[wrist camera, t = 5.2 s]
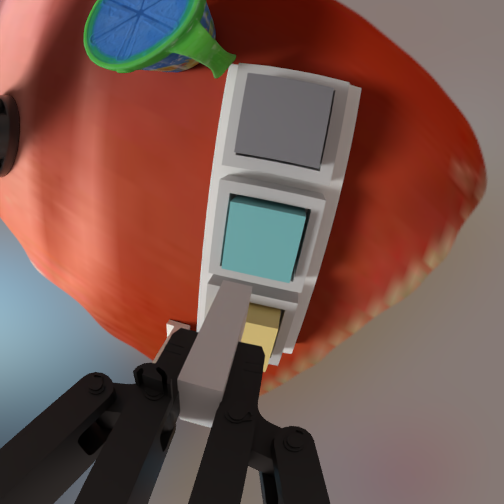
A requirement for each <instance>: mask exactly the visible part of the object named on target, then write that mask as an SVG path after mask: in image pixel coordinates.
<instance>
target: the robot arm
mask: <svg viewBox="0 0 504 504" xmlns="http://www.w3.org/2000/svg"><path fill="white" fill-rule="evenodd" d="M18 141H19V113H18V108H17V104H16V102H15V100H14V98H13V97H12V96H10V95H0V177H3V176H5V175H6V174H7V173H8V172H9V171H10V169H11V167H12V165H13V163H14V160H15V157H16V153H17V148H18ZM252 287H253V286H248V285H244V284H239V283H234V282H230V281H225V280H223V282H222V284H221V286H220V288H219V290H218V292H217V294H216V297H215V299H214V301H213V303H212V305H211V307H210V309H209V311H208V314H207V316H206V318H205V320H204V322H203V324H202V326H201V329H200V331H199V332H195V331H192V330H188V329H184V328H180V329H178V330H177V331H176V332H174V333H173V334H172V335H171V337H170V339H169V341H168V343H167V344H166V346H165V348H164V350H163V351H162V353H161V355H160V356H159V358H158V360H157V362H156V363H144V364H142V365H140V366H138V367H137V368H136V369H135V370H134V371H133V373H134V378H135V382H136V384H120V383H112V380H111V379H110V378H109V377H108V376H107V375H105V374H103V373H97V372H94V373H89V374H88V375H86V376H84V377H83V378H82V379H80V380H79V381H78V382H77V383H76V384H75V385H73V386H72V387H71V388H70V389H69V390H68V391H66V392H65V393H64V394H63V395H62V396H61V397H59V398H58V399H57V400H56V401H55V402H54V403H52V404H51V405H50V406H49V407H48V408H47V409H45V410H44V411H43V412H42V413H41V414H40V415H39V416H37V417H36V418H35V419H34V420H33V421H32V422H31V423H29V424H28V425H27V426H26V427H25V428H24V429H22V430H21V431H20V432H19V433H18V434H17V435H16V436H14V437H13V438H12V439H11V440H10V441H9V442H8V443H6V444H5V445H4V446H3V447H2V448H1V449H0V504H53V503H54V502H55V501H56V500H57V499H58V498H59V497H60V496H61V495H62V494H63V493H64V492H65V491H66V490H67V489H68V488H69V487H70V486H71V485H72V484H73V483H74V482H75V481H76V480H77V479H78V478H79V477H80V476H81V475H82V474H83V473H84V472H85V471H86V470H87V469H88V468H89V467H90V466H91V464H92V463H93V462H94V461H95V460H96V461H95V463H94V466H93V467H92V469H91V471H90V473H89V475H88V477H87V479H86V481H85V483H84V485H83V487H82V489H81V491H80V493H79V495H78V497H77V499H76V501H75V503H74V504H148V502H149V499H150V496H151V494H152V491H153V488H154V486H155V483H156V480H157V478H158V475H159V472H160V470H161V467H162V464H163V462H164V459H165V457H166V454H167V452H168V449H169V446H170V444H171V441H172V438H173V436H174V433H175V430H176V421H177V418H178V416H180V419H182V420H185V421H188V422H192V423H195V424H199V425H203V426H207V427H211V431H210V435H209V437H208V441H207V444H206V447H205V451H204V454H203V457H202V460H201V464H200V467H199V470H198V474H197V477H196V480H195V483H194V487H193V490H192V493H191V496H190V499H189V503H188V504H240V502H241V498H242V493H243V487H244V483H245V478H246V473H247V468H248V466H250V467H252V468H254V469H256V470H258V471H259V476H260V483H261V490H262V498H263V504H330V501H329V497H328V493H327V489H326V485H325V481H324V478H323V474H322V470H321V466H320V462H319V458H318V455H317V450H316V447H315V443H314V440H313V438H312V436H311V434H310V433H308V432H307V431H306V430H305V429H303V428H300V427H296V426H289V427H285V428H280V427H278V426H276V425H274V424H272V423H270V422H268V421H266V420H265V419H264V418H263V417H262V416H261V414H260V413H259V410H258V398H259V392H260V386H261V380H262V373H263V367H264V361H265V354H264V351H263V348H262V346H258V345H253V344H248V343H244V342H241V339H242V336H243V332H244V328H245V323H246V318H247V313H248V308H249V303H250V298H251V292H252Z"/></svg>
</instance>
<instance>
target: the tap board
mask: <svg viewBox="0 0 504 504" xmlns="http://www.w3.org/2000/svg"><path fill="white" fill-rule="evenodd" d="M248 73H255V74H263V75H270V76H277V77H284V78H290V79H295V80H301V81H306V82H311V83H315V84H320V85H324V86H328V87H332V88H334V91H333V97H332V103H331V108H330V114H329V119H328V125H327V130H326V135H325V140H324V145H323V150H322V155H321V160H320V165H319V169H317V168H313V167H309V166H304V165H300V164H295V163H290V162H285V161H280V160H275V159H270V158H264V157H259V156H253V155H247V154H241V153H235V152H234V149H235V143H236V137H237V131H238V125H239V119H240V113H241V107H242V102H243V96H244V90H245V85H246V79H247V74H248ZM360 94H361V88H360V87H356V86H353V85H349V82H345V81H342V80H338V79H334V78H330V77H325V76H321V75H317V74H312V73H307V72H302V71H296V70H291V69H285V68H278V67H271V66H263V65H255V64H245V63H239V65H234V64H231V65H230V66H229V69H228V74H227V79H226V85H225V90H224V96H223V102H222V108H221V114H220V120H219V126H218V132H217V139H216V145H215V152H214V159H213V167H212V174H211V182H210V189H209V198H208V206H207V215H206V224H205V233H204V243H203V253H202V264H201V276H200V288H199V302H198V316H197V332H199V331H200V329H201V326H202V324H203V322H204V320H205V318H206V316H207V314H208V311H209V309H210V307H211V305H212V303H213V301H214V299H215V297H216V294H217V292H218V290H219V288H220V286H221V284H222V282H223V280H225V281H230V282H234V283H239V284H244V285H248V286H253V287H252V292H251V298H250V302H251V303H255V304H260V305H264V306H269V307H274V308H278V309H281V311H280V320H279V328H278V332H277V335H276V339H275V342H274V346H273V349H272V352H271V355H270V359H269V362H268V364H273V365H278V364H279V361H280V358H281V355H282V352H284V353H289V354H292V351H293V348H294V346H295V343H296V340H297V337H298V334H299V332H300V329H301V326H302V323H303V320H304V317H305V314H306V311H307V308H308V305H309V302H310V299H311V296H312V293H313V289H314V286H315V283H316V280H317V277H318V273H319V270H320V267H321V263H322V260H323V257H324V253H325V250H326V246H327V243H328V239H329V235H330V232H331V228H332V224H333V220H334V217H335V213H336V209H337V205H338V201H339V197H340V193H341V189H342V184H343V180H344V176H345V171H346V167H347V162H348V158H349V153H350V148H351V144H352V139H353V134H354V128H355V123H356V118H357V112H358V106H359V100H360ZM237 195H244V196H249V197H254V198H259V199H264V200H269V201H274V202H279V203H284V204H288V205H293V206H298V207H302V208H305V213H306V219H305V223H304V227H303V232H302V236H301V240H300V244H299V248H298V252H297V256H296V260H295V264H294V268H293V272H292V275H291V279H290V283H286V282H281V281H276V280H271V279H267V278H262V277H258V276H253V275H249V274H244V273H240V272H235V271H231V270H226V269H222V260H223V252H224V245H225V237H226V230H227V223H228V215H229V208H230V202H231V201H232V200H233V199H234V198H235V197H236V196H237Z"/></svg>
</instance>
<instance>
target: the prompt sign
mask: <svg viewBox="0 0 504 504" xmlns="http://www.w3.org/2000/svg"><path fill="white" fill-rule="evenodd" d="M180 328H184V329H188V330H190V325H187V324H183V323H180V322H176V321H173V320H169V321H168V323H167V339H166V341H165V342H164V344H163V346H162V347H161V349H160V351H159V352H158V354H157V355H156V357H155V359H154V360H153V362H152V363H156V362H157V360H158V358H159V356H160V355H161V353H162V351H163V350H164V348H165V346H166V344H167V343H168V341H169V339H170V337H171V335H172V334H173V333H174V332H176V331H177V330H178V329H180Z"/></svg>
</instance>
